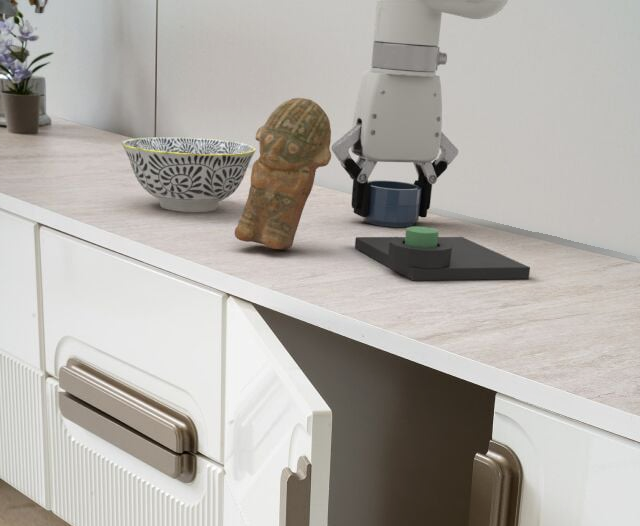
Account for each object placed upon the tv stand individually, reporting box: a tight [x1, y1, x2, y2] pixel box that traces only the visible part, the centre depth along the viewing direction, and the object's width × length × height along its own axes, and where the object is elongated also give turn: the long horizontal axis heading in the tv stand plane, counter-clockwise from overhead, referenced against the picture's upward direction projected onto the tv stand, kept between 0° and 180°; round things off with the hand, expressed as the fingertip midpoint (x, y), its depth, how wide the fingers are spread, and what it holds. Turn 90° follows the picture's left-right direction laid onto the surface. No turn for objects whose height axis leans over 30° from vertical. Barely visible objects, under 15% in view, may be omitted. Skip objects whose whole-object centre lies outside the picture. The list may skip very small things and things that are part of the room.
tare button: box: [404, 226, 440, 248], centre depth 111 cm, size 3×3×2 cm
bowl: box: [121, 136, 257, 213], centre depth 136 cm, size 16×16×8 cm
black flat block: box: [354, 236, 531, 282], centre depth 117 cm, size 14×15×3 cm
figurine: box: [234, 97, 332, 251], centre depth 116 cm, size 8×8×15 cm
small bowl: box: [363, 179, 422, 228], centre depth 137 cm, size 7×7×4 cm
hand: (390, 214), depth 137 cm, fingers closed on small bowl, 7 cm apart
